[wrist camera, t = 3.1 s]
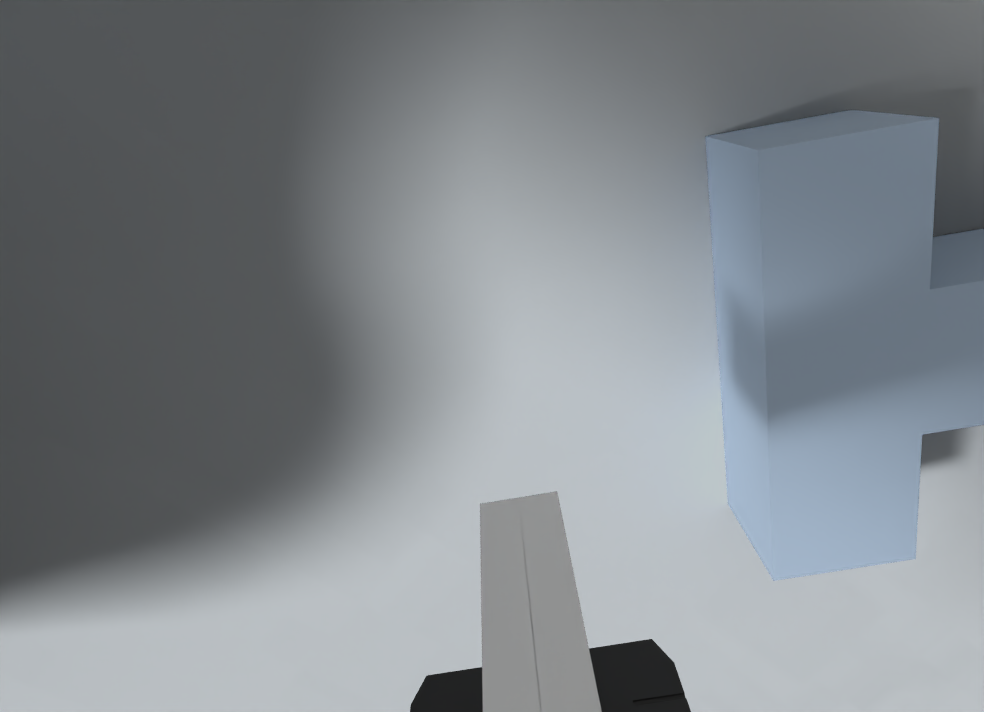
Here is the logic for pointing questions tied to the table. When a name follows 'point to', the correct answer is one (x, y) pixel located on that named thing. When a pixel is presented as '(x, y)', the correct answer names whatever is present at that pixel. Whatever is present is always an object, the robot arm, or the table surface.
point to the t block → (838, 333)
